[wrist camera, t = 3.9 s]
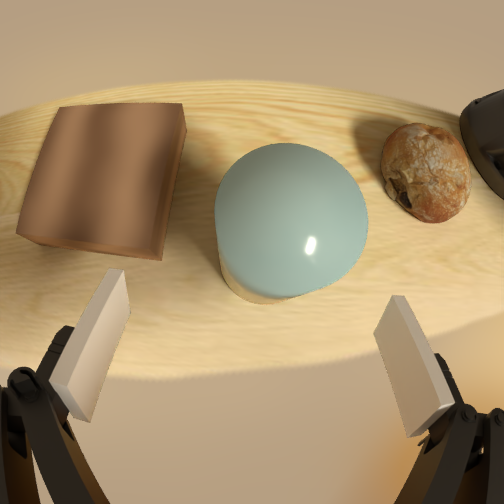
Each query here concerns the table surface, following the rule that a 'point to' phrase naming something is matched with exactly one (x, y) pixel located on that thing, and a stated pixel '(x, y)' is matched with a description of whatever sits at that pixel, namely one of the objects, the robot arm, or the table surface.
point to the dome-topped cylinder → (287, 223)
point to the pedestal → (106, 179)
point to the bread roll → (426, 172)
